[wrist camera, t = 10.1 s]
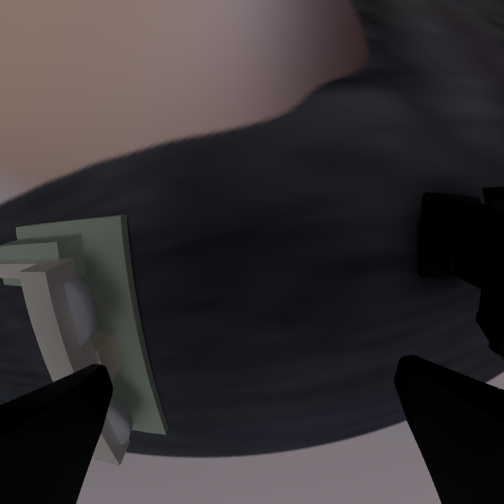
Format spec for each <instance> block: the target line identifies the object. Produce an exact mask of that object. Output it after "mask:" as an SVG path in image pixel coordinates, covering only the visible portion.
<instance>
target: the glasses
mask: <svg viewBox="0 0 504 504" xmlns="http://www.w3.org/2000/svg"><path fill="white" fill-rule="evenodd" d="M0 278H15V279H20V280H21V285H22V289H23V293H24V297H25V301H26V305H27V309H28V312H29V316H30V319H31V323H32V326H33V329H34V332H35V336H36V339H37V341H38V344H39V347H40V350H41V353H42V355H43V358H44V361H45V363H46V366H47V368H48V371H49V373H50V376H51V378H52V380H53V382H54V381H57V380H59V379H61V378H63V377H65V376H68V375H70V374H72V373H74V372H76V371H78V370H81V369H83V368H85V367H87V366H89V365H91V364H99V362H98V359H97V356H96V352H95V349H94V346H93V342H92V339H91V336H92V335H93V334H94V332H95V331H96V329H97V327H98V324H99V310H98V305H97V302H96V300H95V297H94V295H93V293H92V292H91V290H90V289H89V287H88V286H87V285H86V284H85V282H84V281H82V280H81V279H80V278H79V277H78V276H77V273H76V267H75V261H74V258H66V259H30V260H3V261H0ZM132 429H133V420H132V417H131V415H130V414H129V412H128V411H127V410H126V409H125V408H124V407H123V406H122V405H121V404H120V403H118V402H117V401H116V400H114V399H112V398H111V401H110V405H109V408H108V412H107V415H106V419H105V423H104V426H103V430H102V432H101V435H100V438H99V440H98V443H97V445H96V448H95V451H94V453H93V457H94V458H95V459H97V460H101V461H104V462H109V463H112V464H116V465H120V464H121V462H122V459H123V457H124V454H125V452H126V450H127V447H128V445H129V442H130V440H129V435H130V433H131V431H132Z"/></svg>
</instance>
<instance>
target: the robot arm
mask: <svg viewBox="0 0 504 504" xmlns="http://www.w3.org/2000/svg"><path fill="white" fill-rule="evenodd" d="M429 197H430V198H431V200H430V202H429V200H428V199H429ZM483 197H485V204H482V203H481V201H480V199H479V198H478V197H470V196H461V195H452V194H441V193H430V192H427V193H425V194H424V196H423V219H422V228H421V243H420V260H419V269H418V274H419V275H420V276H421V277H422V278H432V277H443V276H452V275H454V276H456V277H458V278H460V279H462V280H464V281H466V282H467V283H469V284H471V285H473V286H475V287H477V288H479V289H481V296H480V303H479V310H478V312H477V314H476V321H477V323H478V324H479V326H480V327H481V329H482V331H483V332H484V334H485V336H486V337H487V339H488V340H489V348H490V349H491V350H492V351H493V352H494V353H496V354H497V355H498V356H500V357H501V358H502V359H503V360H504V187H487V188H483ZM425 269H426V271H425V273H423V271H424V270H425ZM394 383H395V387H396V390H397V393H398V395H399V398H400V401H401V404H402V407H403V410H404V413H405V416H406V419H407V422H408V424H409V427H410V429H411V431H412V433H413V435H414V438H415V440H416V442H417V444H418V447H419V449H420V451H421V454H422V456H423V458H424V461H425V463H426V465H427V468H428V470H429V473H430V475H431V477H432V480H433V483H434V485H435V488H436V490H437V493H438V496H439V498H440V501H441V503H442V504H504V390H503V389H499V388H497V387H494V386H492V385H489V384H486V383H484V382H481V381H478V380H476V379H473V378H470V377H468V376H465V375H463V374H460V373H457V372H455V371H452V370H450V369H447V368H445V367H442V366H440V365H437V364H435V363H432V362H430V361H427V360H425V359H422V358H420V357H417V356H415V355H407V356H403V357H401V358H400V360H399V363H398V367H397V370H396V374H395V378H394ZM112 394H113V384H112V382H111V379H110V376H109V373H108V370H107V368H106V366H105V365H101V364H91V365H89V366H87V367H85V368H83V369H81V370H78V371H76V372H74V373H72V374H70V375H68V376H65V377H63V378H61V379H59V380H57V381H54V382H52V383H50V384H48V385H46V386H43V387H41V388H39V389H37V390H34V391H32V392H30V393H28V394H25V395H23V396H21V397H18V398H16V399H14V400H11V401H10V402H7V403H4V404H2V405H0V504H76V502H77V499H78V496H79V493H80V490H81V487H82V484H83V481H84V478H85V475H86V473H87V470H88V467H89V464H90V461H91V458H92V456H93V453H94V451H95V448H96V445H97V443H98V440H99V438H100V435H101V432H102V430H103V426H104V423H105V419H106V415H107V412H108V408H109V405H110V401H111V398H112Z"/></svg>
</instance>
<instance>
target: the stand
mask: <svg viewBox="0 0 504 504" xmlns="http://www.w3.org/2000/svg"><path fill="white" fill-rule="evenodd" d="M16 233H17V240H16V241H13V242H10V243H6V244H3V245H0V261H3V260H30V259H66V258H74V261H75V267H76V273H77V276H78V277H79V278H80V279H81V280H82V281H84V282H85V284H86V285H87V286H88V287H89V289H90V290H91V292H92V293H93V295H94V297H95V300H96V302H97V305H98V310H99V324H98V327H97V329H96V331H95V332H94V334H93V335H92V336H91V339H92V342H93V346H94V349H95V352H96V356H97V359H98V362H99V364H101V365H105V366H106V368H107V370H108V373H109V376H110V379H111V382H112V384H113V394H112V399H114V400H116V401H117V402H118V403H120V404H121V405H122V406H123V407H124V408H125V409H126V410H127V411H128V412H129V414H130V415H131V417H132V420H133V429H132V430H136V431H143V432H149V433H156V434H164V435H166V434H167V430H168V425H167V422H166V419H165V416H164V413H163V409H162V406H161V403H160V399H159V396H158V392H157V389H156V385H155V381H154V377H153V374H152V370H151V366H150V361H149V357H148V353H147V349H146V344H145V339H144V335H143V330H142V325H141V320H140V314H139V309H138V303H137V297H136V291H135V285H134V278H133V271H132V263H131V255H130V246H129V237H128V226H127V215H115V216H104V217H94V218H84V219H74V220H65V221H57V222H48V223H40V224H33V225H25V226H20V227H16ZM3 281H4V285H16V286H22V285H21V280H20V279H15V278H3Z"/></svg>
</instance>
